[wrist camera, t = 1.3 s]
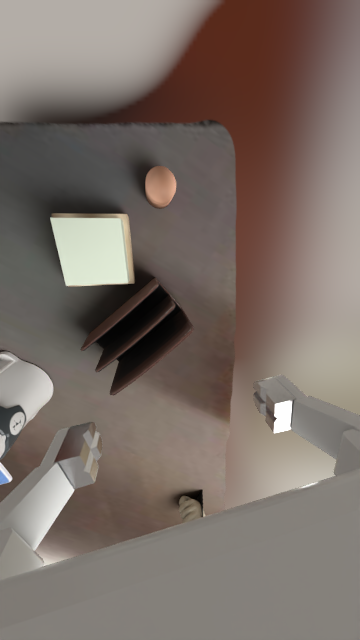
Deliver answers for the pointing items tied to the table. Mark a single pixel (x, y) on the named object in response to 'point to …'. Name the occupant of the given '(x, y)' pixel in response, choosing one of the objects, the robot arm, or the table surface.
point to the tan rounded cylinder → (160, 186)
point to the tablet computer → (4, 475)
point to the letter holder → (140, 334)
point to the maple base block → (127, 238)
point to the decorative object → (191, 508)
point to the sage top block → (91, 250)
